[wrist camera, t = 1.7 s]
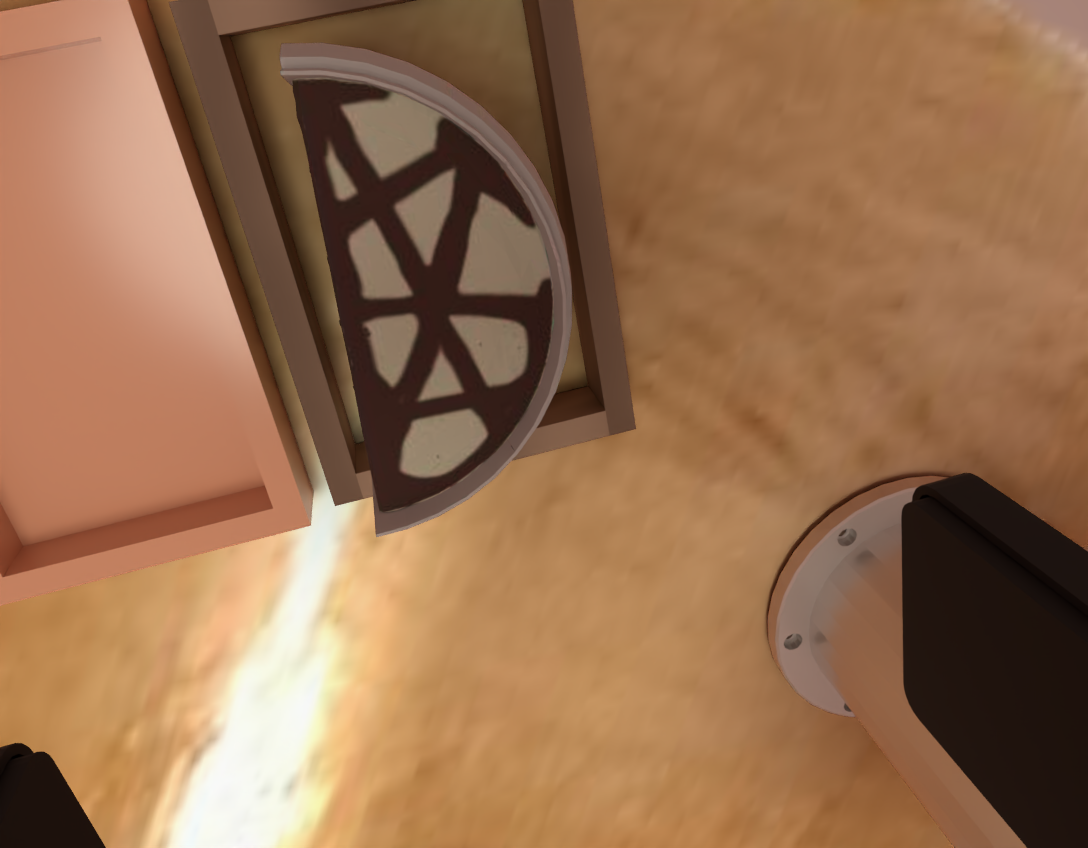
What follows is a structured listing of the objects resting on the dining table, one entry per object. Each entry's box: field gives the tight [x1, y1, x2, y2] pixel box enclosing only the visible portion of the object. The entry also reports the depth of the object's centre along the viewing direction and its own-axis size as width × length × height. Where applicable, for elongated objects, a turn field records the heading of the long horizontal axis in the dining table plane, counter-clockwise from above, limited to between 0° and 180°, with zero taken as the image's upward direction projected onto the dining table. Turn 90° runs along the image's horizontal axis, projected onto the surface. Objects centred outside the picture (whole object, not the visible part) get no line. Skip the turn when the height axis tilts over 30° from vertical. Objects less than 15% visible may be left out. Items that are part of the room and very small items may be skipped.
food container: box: [280, 43, 572, 537], centre depth 25 cm, size 12×6×10 cm, turn 6°
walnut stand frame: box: [169, 0, 636, 506], centre depth 28 cm, size 11×16×2 cm
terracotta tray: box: [0, 0, 314, 605], centre depth 27 cm, size 11×17×2 cm, turn 10°
